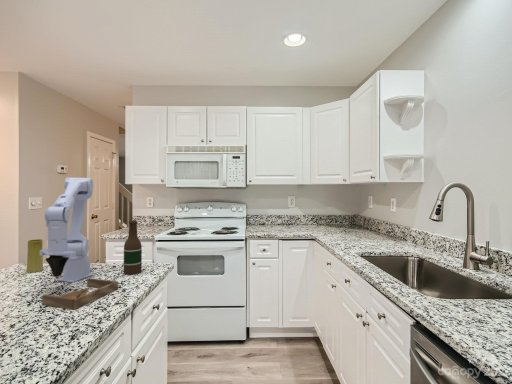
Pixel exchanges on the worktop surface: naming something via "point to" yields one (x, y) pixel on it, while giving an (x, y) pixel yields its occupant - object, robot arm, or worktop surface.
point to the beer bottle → (132, 251)
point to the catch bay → (74, 304)
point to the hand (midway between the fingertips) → (57, 275)
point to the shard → (75, 294)
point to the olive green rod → (34, 256)
